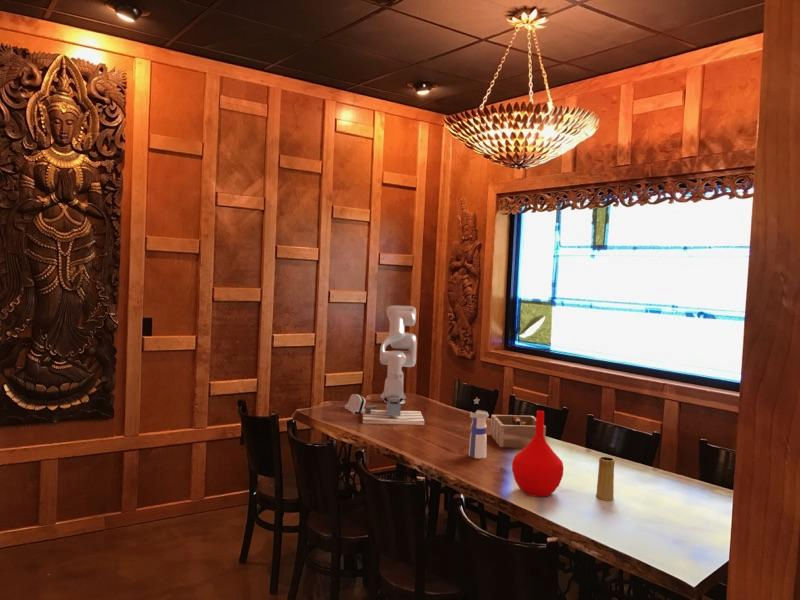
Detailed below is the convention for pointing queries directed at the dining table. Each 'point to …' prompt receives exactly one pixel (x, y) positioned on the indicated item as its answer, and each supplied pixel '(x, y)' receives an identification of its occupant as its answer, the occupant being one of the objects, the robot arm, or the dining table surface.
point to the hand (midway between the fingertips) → (392, 409)
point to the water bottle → (478, 433)
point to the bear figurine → (517, 421)
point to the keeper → (368, 408)
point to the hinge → (356, 403)
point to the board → (383, 418)
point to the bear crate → (513, 430)
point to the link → (393, 407)
